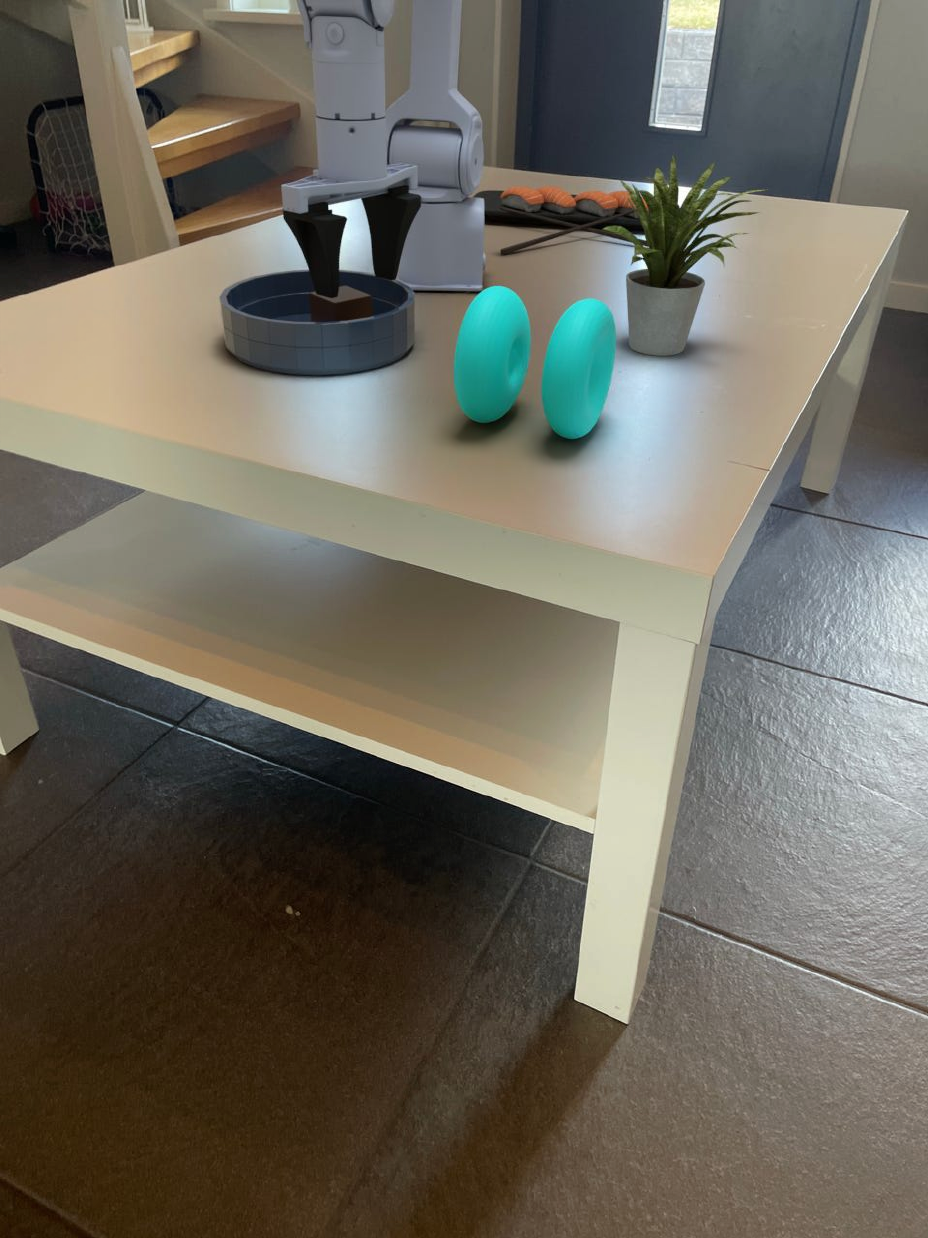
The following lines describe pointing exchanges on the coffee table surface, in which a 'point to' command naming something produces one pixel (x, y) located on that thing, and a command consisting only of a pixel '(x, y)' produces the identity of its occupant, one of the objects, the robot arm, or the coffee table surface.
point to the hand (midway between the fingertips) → (357, 286)
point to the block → (340, 306)
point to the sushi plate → (562, 211)
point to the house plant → (670, 260)
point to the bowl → (315, 324)
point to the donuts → (501, 355)
